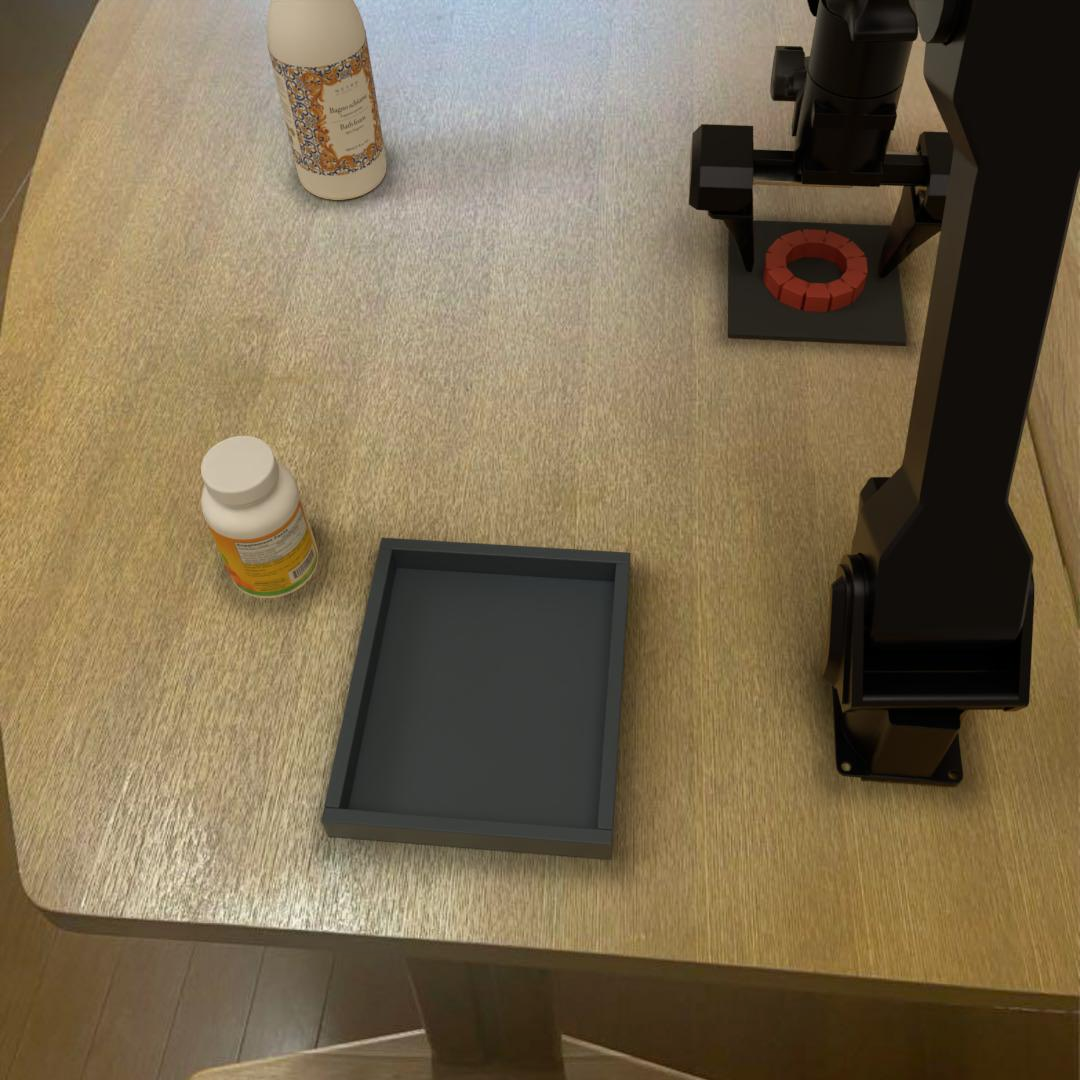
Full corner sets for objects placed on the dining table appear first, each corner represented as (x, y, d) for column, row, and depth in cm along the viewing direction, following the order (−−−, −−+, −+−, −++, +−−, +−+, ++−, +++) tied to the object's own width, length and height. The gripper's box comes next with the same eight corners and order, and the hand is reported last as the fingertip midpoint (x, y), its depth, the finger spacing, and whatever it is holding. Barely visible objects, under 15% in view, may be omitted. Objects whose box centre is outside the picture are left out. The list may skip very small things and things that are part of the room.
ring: (866, 314, 82) (870, 299, 81) (764, 309, 83) (766, 294, 81) (860, 246, 86) (864, 231, 85) (762, 242, 87) (765, 227, 86)
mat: (905, 346, 81) (907, 342, 80) (727, 338, 82) (728, 333, 81) (892, 229, 88) (893, 225, 87) (728, 223, 89) (729, 218, 88)
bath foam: (327, 215, 91) (271, -43, 74) (283, 170, 94) (220, -86, 78) (404, 179, 93) (366, -78, 77) (358, 136, 96) (313, -119, 80)
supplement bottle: (227, 538, 73) (184, 434, 65) (315, 521, 74) (282, 417, 66) (233, 610, 70) (188, 511, 62) (324, 592, 70) (291, 491, 63)
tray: (611, 863, 60) (612, 845, 58) (329, 840, 62) (320, 821, 59) (629, 576, 70) (630, 552, 68) (387, 561, 72) (381, 536, 70)
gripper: (998, 1, 75) (938, 202, 88) (701, -7, 77) (684, 192, 89) (1023, 107, 69) (954, 307, 81) (698, 96, 70) (680, 295, 83)
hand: (814, 270), depth 84 cm, fingers open, 9 cm apart
